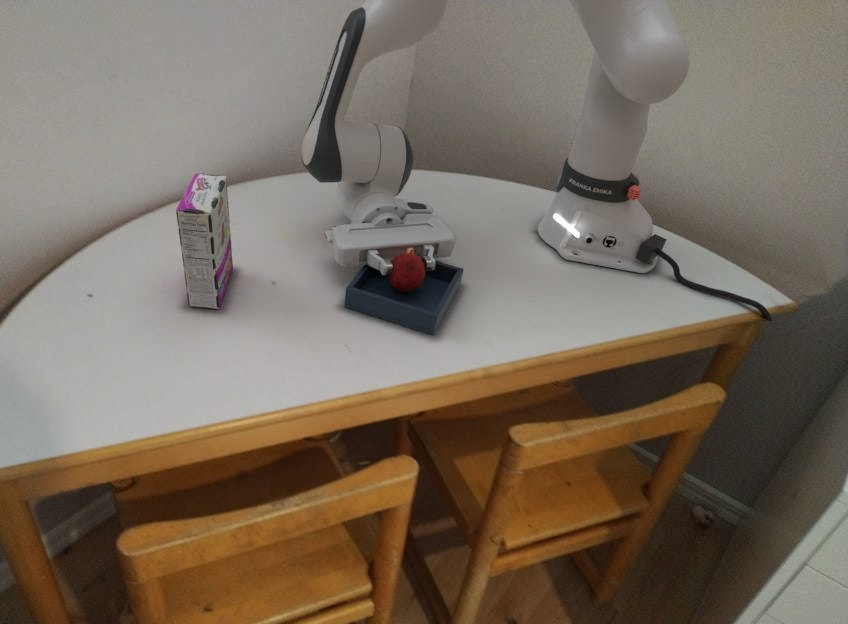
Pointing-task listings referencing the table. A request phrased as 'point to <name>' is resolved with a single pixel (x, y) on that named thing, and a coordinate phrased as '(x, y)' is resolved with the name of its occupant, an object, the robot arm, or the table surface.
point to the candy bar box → (205, 240)
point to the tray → (405, 297)
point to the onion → (407, 271)
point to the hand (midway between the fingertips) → (409, 269)
